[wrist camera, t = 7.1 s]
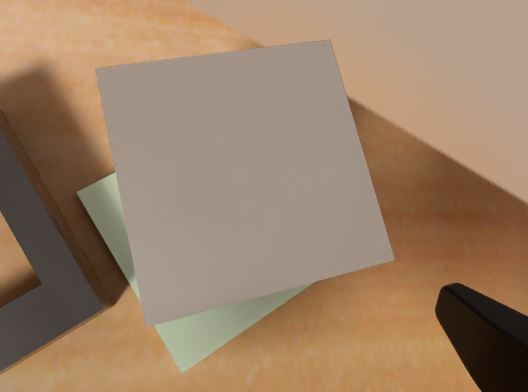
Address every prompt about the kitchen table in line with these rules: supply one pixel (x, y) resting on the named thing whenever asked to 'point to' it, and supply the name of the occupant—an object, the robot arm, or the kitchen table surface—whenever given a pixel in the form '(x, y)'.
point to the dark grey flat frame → (41, 261)
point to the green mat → (188, 328)
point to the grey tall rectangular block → (239, 176)
